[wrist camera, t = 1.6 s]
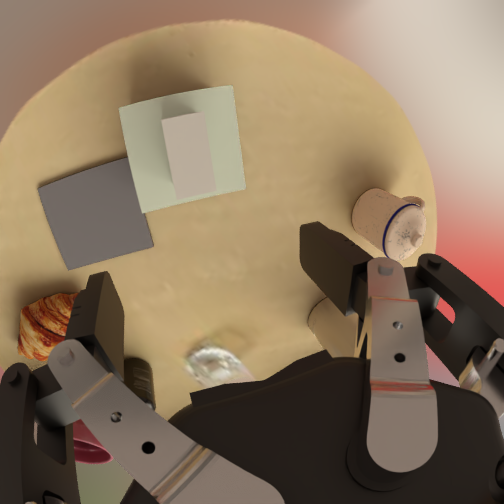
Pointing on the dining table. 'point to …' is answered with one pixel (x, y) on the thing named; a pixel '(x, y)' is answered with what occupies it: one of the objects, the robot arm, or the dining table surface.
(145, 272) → the dining table surface
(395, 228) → the teacup with lid
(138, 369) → the supplement bottle
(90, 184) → the rubber pad
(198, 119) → the lid
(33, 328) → the croissant
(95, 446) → the plant pot
